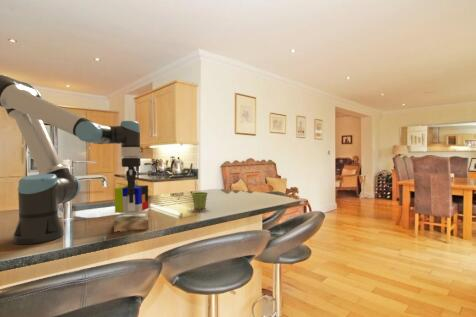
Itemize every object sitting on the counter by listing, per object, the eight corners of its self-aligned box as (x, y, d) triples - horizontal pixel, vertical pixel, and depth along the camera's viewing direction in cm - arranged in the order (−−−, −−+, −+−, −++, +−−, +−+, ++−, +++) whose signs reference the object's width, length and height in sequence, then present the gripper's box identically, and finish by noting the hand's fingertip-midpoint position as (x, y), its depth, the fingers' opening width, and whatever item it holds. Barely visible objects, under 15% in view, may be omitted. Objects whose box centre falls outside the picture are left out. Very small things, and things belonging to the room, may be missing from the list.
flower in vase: (134, 212, 146) (133, 165, 145) (152, 213, 143) (152, 165, 142) (117, 217, 133) (116, 166, 133) (137, 219, 130) (136, 166, 130)
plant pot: (188, 209, 152) (188, 194, 152) (196, 206, 161) (195, 191, 161) (203, 210, 149) (203, 194, 149) (210, 207, 158) (210, 192, 158)
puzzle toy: (138, 212, 111) (138, 188, 111) (115, 212, 112) (114, 188, 112) (148, 207, 121) (147, 185, 121) (126, 207, 122) (126, 185, 122)
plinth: (114, 232, 108) (113, 222, 108) (116, 224, 121) (116, 215, 121) (148, 228, 113) (148, 219, 113) (147, 221, 125) (147, 212, 125)
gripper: (140, 157, 106) (141, 212, 106) (140, 157, 129) (141, 202, 129) (119, 157, 104) (120, 214, 104) (123, 157, 127) (124, 203, 127)
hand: (132, 207), depth 117 cm, fingers closed on puzzle toy, 12 cm apart
